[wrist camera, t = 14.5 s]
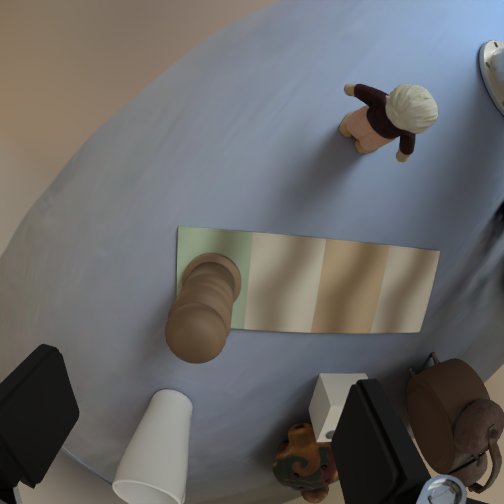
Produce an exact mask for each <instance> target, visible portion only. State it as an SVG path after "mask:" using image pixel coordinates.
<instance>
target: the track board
mask: <svg viewBox="0 0 504 504" xmlns="http://www.w3.org/2000/svg"><path fill="white" fill-rule="evenodd" d="M205 253H218V254H222V255H224V256H226V257H228V258H229V259H231V260H232V261H233V262H234V263H235V264H236V266H237V267H238V269H239V271H240V274H241V291H240V294H239V296H238V298H237V300H236V301H235V302H234V303H233V309H232V319H231V328H236V329H249V330H264V331H282V332H305V333H412V332H420V329H421V326H422V323H423V319H424V316H425V312H426V309H427V305H428V302H429V298H430V294H431V290H432V286H433V282H434V278H435V274H436V269H437V264H438V260H439V255H440V251H437V250H428V249H420V248H411V247H402V246H393V245H384V244H374V243H365V242H355V241H345V240H335V239H325V238H315V237H304V236H293V235H282V234H271V233H260V232H248V231H236V230H224V229H211V228H198V227H185V226H179V227H178V250H177V296H178V295H179V293H180V291H181V289H182V288H183V286H182V278H183V274H184V271H185V269H186V268H187V266H188V265H189V263H190V262H191V261H192V260H193V259H194V258H196V257H197V256H199V255H202V254H205Z"/></svg>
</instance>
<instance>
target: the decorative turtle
mask: <svg viewBox="0 0 504 504" xmlns="http://www.w3.org/2000/svg"><path fill="white" fill-rule="evenodd" d="M288 438H289V442H287V441H286V442H282V444H281V445H280V446H279V448H278V451H277V453H276V456H275V459H274V462H273V473H274V475H275V477H276V478H277V480H278V481H279V482H280V483H281V484H283V485H284V486H286V487H288V488H290V489H293V490H299V491H301V494H302V496H303V498H304V499H305V500H306V501H308V502H310V503H319V502H321V501H322V500H323V499H325V497H326V496H327V494H328V491H329V487H328V484H330V483H331V482H333V481H334V480H335V479H336V478H337V477H338V472H337V468H336V465H335V461H334V457H333V453H332V449H331V442H316V438H315V434H314V430H313V428H312V426H311V425H310V424H308V423H306V422H299V423H295V424H293V425H292V426H291V427H290V428H289V431H288Z"/></svg>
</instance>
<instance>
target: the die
mask: <svg viewBox="0 0 504 504" xmlns="http://www.w3.org/2000/svg"><path fill="white" fill-rule="evenodd" d="M360 379H368V377H367V375H366V374H365V373H352V374H339V373H320V374H319V377H318V380H317V384H316V387H315V390H314V393H313V396H312V399H311V403H310V406H309V409H308V410H309V414H310V418H311V422H312V426H313V430H314V434H315V438H316V442H331V440H332V437H333V434H334V432H335V429H336V427H337V424H338V421H339V418H340V416H341V413H342V410H343V407H344V405H345V402H346V399H347V396H348V393H349V390H350V387H351V385H353V384H356V382H357V381H358V380H360Z"/></svg>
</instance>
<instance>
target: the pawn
mask: <svg viewBox="0 0 504 504" xmlns="http://www.w3.org/2000/svg"><path fill="white" fill-rule="evenodd" d="M182 286H183V288H182V289H181V291H180V293H179V295H178V296H177V298H176V300H175V302H174V304H173V305H172V307H171V309H170V312H169V317H168V321H167V324H166V329H165V335H166V341H167V344H168V346H169V348H170V349H171V351H172V352H173V353H174V354H175V355H176V356H177V357H178V358H180V359H181V360H183V361H186V362H189V363H195V364H198V363H205V362H208V361H210V360H212V359H214V358H215V357H216V356H217V355H218V354H219V353H220V352H221V351H222V349H223V347H224V345H225V342H226V338H227V336H228V334H229V332H230V328H231V319H232V309H233V303H234V302H235V301H236V300H237V298H238V296H239V294H240V291H241V274H240V271H239V269H238V267H237V266H236V264H235V263H234V262H233V261H232V260H231V259H229V258H228V257H226V256H224V255H222V254H218V253H205V254H202V255H199V256H197V257H196V258H194V259H193V260H192V261H191V262H190V263H189V265H188V266H187V268H186V269H185V271H184V274H183V278H182Z"/></svg>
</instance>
